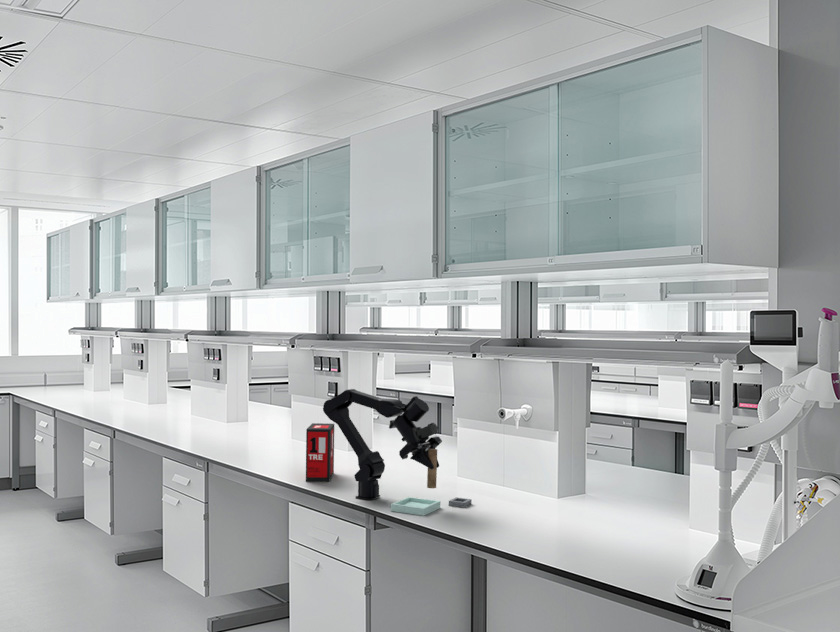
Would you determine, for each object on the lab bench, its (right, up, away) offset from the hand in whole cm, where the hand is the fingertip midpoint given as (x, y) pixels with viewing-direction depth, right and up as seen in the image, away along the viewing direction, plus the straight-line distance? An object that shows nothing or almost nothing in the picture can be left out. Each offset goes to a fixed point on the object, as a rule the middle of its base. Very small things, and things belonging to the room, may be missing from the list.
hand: (435, 467), depth 253 cm
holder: (+8, -14, +6) cm, 17 cm away
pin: (-1, -7, +1) cm, 7 cm away
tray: (-6, -13, -1) cm, 15 cm away
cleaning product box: (-44, -13, +48) cm, 67 cm away
